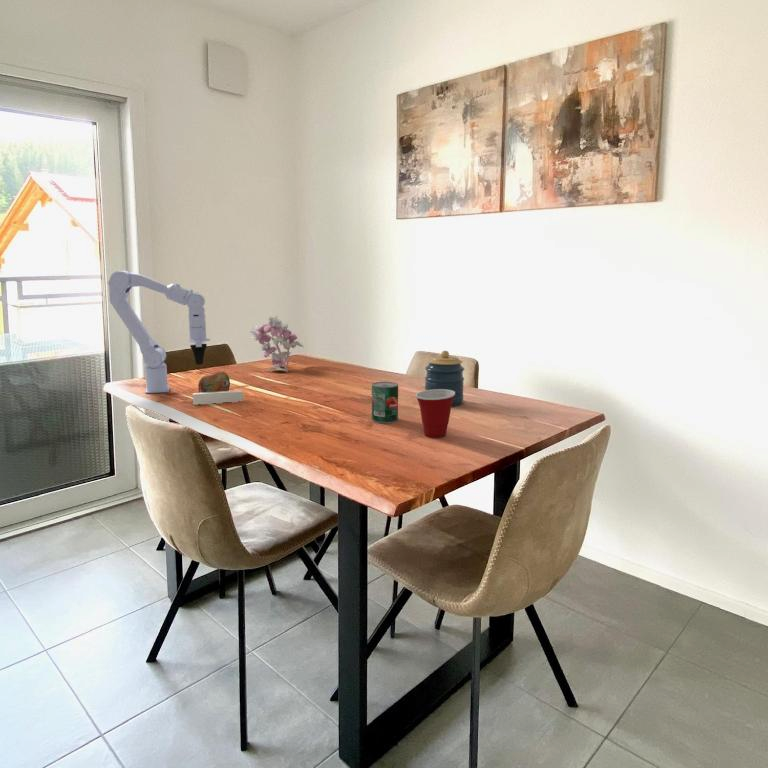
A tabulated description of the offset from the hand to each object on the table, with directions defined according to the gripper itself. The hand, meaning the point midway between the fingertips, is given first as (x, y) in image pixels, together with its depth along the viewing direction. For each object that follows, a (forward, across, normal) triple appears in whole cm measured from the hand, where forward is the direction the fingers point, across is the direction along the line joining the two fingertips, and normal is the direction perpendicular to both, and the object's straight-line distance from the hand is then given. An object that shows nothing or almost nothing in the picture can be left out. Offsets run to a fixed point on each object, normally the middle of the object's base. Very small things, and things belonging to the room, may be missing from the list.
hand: (199, 364), depth 221 cm
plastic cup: (+10, -80, -59) cm, 100 cm away
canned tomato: (+10, -61, -51) cm, 80 cm away
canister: (+10, -45, -77) cm, 90 cm away
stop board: (+9, -24, -5) cm, 26 cm away
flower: (+10, +35, -33) cm, 49 cm away
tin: (+10, -15, -4) cm, 18 cm away
